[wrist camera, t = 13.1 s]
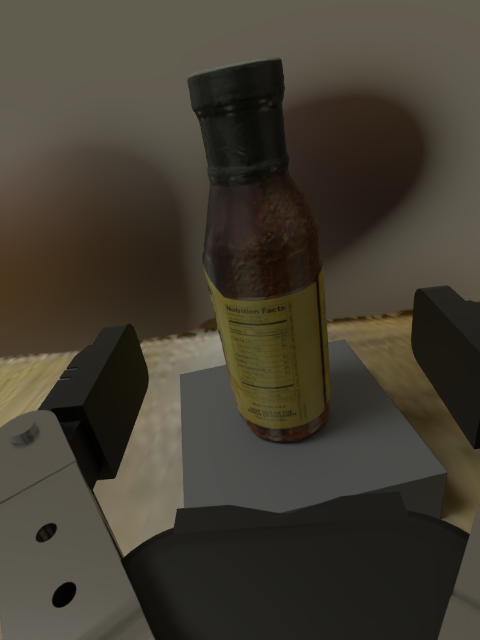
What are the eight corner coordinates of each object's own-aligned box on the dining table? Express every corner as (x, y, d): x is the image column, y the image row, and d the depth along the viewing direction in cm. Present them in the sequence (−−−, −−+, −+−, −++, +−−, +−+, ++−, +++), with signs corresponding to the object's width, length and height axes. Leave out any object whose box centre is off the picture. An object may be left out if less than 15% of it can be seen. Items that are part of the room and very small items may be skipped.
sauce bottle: (271, 374, 30) (230, 73, 21) (348, 400, 26) (341, 47, 17) (217, 429, 26) (133, 81, 16) (299, 468, 22) (253, 49, 13)
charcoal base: (345, 377, 35) (344, 339, 33) (440, 519, 22) (447, 472, 21) (190, 411, 34) (179, 374, 32) (200, 579, 22) (185, 536, 20)
